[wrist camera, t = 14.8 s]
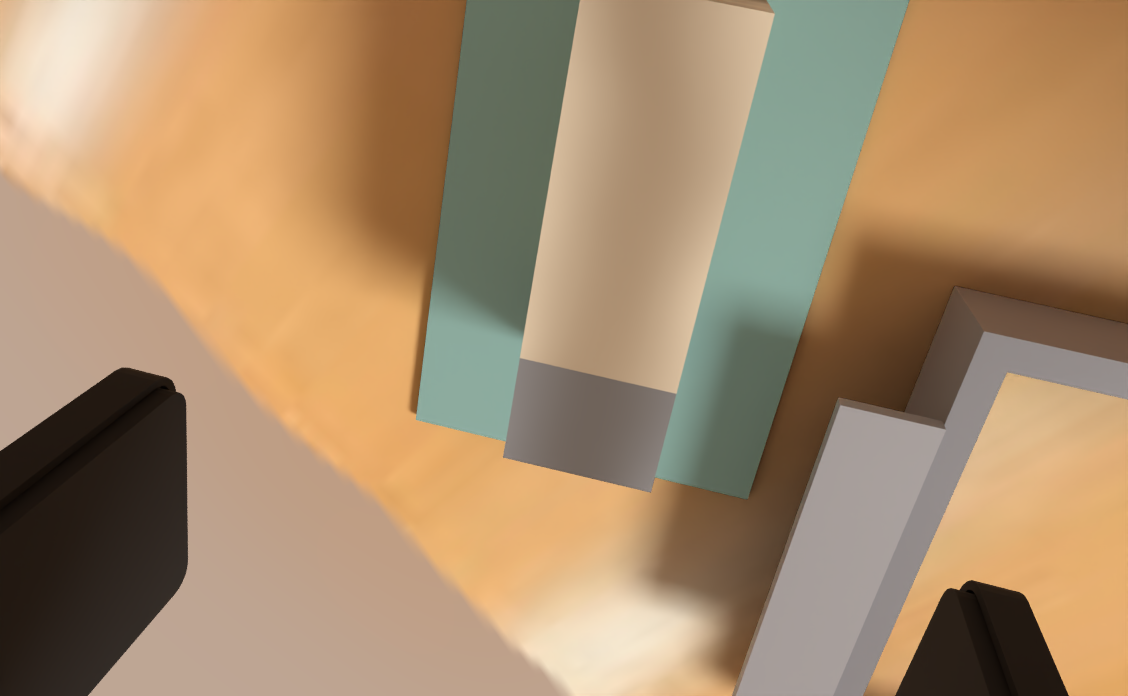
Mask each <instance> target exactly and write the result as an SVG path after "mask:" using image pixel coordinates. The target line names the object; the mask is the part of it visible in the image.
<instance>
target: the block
mask: <svg viewBox="0 0 1128 696" xmlns="http://www.w3.org/2000/svg"><path fill="white" fill-rule="evenodd" d="M774 15H775V13H774V11H773V10H772V8H771V7H770V5H769V3H768V2H767V0H580V3H579V9H578V15H577V21H576V27H575V33H574V38H573V44H572V50H571V56H570V62H569V68H568V74H567V80H566V86H565V92H564V98H563V104H562V110H561V116H560V122H559V128H558V134H557V140H556V146H555V152H554V158H553V164H552V169H551V175H550V181H549V187H548V193H547V199H546V205H545V211H544V217H543V223H542V229H541V235H540V241H539V247H538V253H537V259H536V265H535V271H534V277H533V283H532V289H531V294H530V300H529V306H528V312H527V318H526V324H525V330H524V336H523V342H522V348H521V354H520V360H519V366H518V372H517V378H516V384H515V390H514V396H513V402H512V408H511V414H510V419H509V425H508V431H507V437H506V443H505V449H504V455H503V458H508V459H512V460H516V461H520V462H524V463H529V464H533V465H537V466H541V467H546V468H550V469H554V470H558V471H562V472H567V473H571V474H575V475H579V476H583V477H588V478H592V479H596V480H600V481H604V482H609V483H613V484H617V485H621V486H626V487H630V488H634V489H638V490H642V491H647V492H651V490H652V486H653V483H654V479H655V475H656V471H657V467H658V463H659V459H660V456H661V452H662V448H663V444H664V440H665V436H666V432H667V429H668V425H669V421H670V417H671V413H672V409H673V405H674V401H675V398H676V394H677V390H678V386H679V382H680V378H681V374H682V371H683V367H684V363H685V359H686V355H687V351H688V347H689V344H690V340H691V336H692V332H693V328H694V324H695V320H696V317H697V313H698V309H699V305H700V301H701V297H702V293H703V289H704V286H705V282H706V278H707V274H708V270H709V266H710V262H711V259H712V255H713V251H714V247H715V243H716V239H717V235H718V232H719V228H720V224H721V220H722V216H723V212H724V208H725V205H726V201H727V197H728V193H729V189H730V185H731V181H732V177H733V174H734V170H735V166H736V162H737V158H738V154H739V150H740V147H741V143H742V139H743V135H744V131H745V127H746V123H747V120H748V116H749V112H750V108H751V104H752V100H753V96H754V93H755V89H756V85H757V81H758V77H759V73H760V69H761V65H762V62H763V58H764V54H765V50H766V46H767V42H768V38H769V35H770V31H771V27H772V23H773V19H774Z"/></svg>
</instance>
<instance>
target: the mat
mask: <svg viewBox="0 0 1128 696" xmlns="http://www.w3.org/2000/svg"><path fill="white" fill-rule="evenodd" d="M767 2H768V3H769V5H770V7H771V8H772V10H773V11H774V13H775V15H774V19H773V23H772V27H771V31H770V35H769V38H768V42H767V46H766V50H765V54H764V58H763V62H762V65H761V69H760V73H759V77H758V81H757V85H756V89H755V93H754V96H753V100H752V104H751V108H750V112H749V116H748V120H747V123H746V127H745V131H744V135H743V139H742V143H741V147H740V150H739V154H738V158H737V162H736V166H735V170H734V174H733V177H732V181H731V185H730V189H729V193H728V197H727V201H726V205H725V208H724V212H723V216H722V220H721V224H720V228H719V232H718V235H717V239H716V243H715V247H714V251H713V255H712V259H711V262H710V266H709V270H708V274H707V278H706V282H705V286H704V289H703V293H702V297H701V301H700V305H699V309H698V313H697V317H696V320H695V324H694V328H693V332H692V336H691V340H690V344H689V347H688V351H687V355H686V359H685V363H684V367H683V371H682V374H681V378H680V382H679V386H678V390H677V394H676V398H675V401H674V405H673V409H672V413H671V417H670V421H669V425H668V429H667V432H666V436H665V440H664V444H663V448H662V452H661V456H660V459H659V463H658V467H657V471H656V475H655V478H660V479H664V480H668V481H672V482H676V483H680V484H684V485H689V486H693V487H697V488H701V489H705V490H709V491H713V492H718V493H722V494H726V495H730V496H734V497H738V498H743V499H748V496H749V493H750V490H751V487H752V484H753V481H754V478H755V475H756V472H757V469H758V466H759V462H760V459H761V456H762V453H763V450H764V447H765V444H766V441H767V438H768V435H769V432H770V429H771V425H772V422H773V419H774V416H775V413H776V410H777V407H778V404H779V401H780V398H781V395H782V392H783V388H784V385H785V382H786V379H787V376H788V373H789V370H790V367H791V364H792V361H793V358H794V355H795V351H796V348H797V345H798V342H799V339H800V336H801V333H802V330H803V327H804V324H805V321H806V318H807V314H808V311H809V308H810V305H811V302H812V299H813V296H814V293H815V290H816V287H817V284H818V281H819V277H820V274H821V271H822V268H823V265H824V262H825V259H826V256H827V253H828V250H829V247H830V244H831V240H832V237H833V234H834V231H835V228H836V225H837V222H838V219H839V216H840V213H841V210H842V207H843V204H844V200H845V197H846V194H847V191H848V188H849V185H850V182H851V179H852V176H853V173H854V170H855V167H856V163H857V160H858V157H859V154H860V151H861V148H862V145H863V142H864V139H865V136H866V133H867V130H868V126H869V123H870V120H871V117H872V114H873V111H874V108H875V105H876V102H877V99H878V96H879V93H880V89H881V86H882V83H883V80H884V77H885V74H886V71H887V68H888V65H889V62H890V59H891V56H892V52H893V49H894V46H895V43H896V40H897V37H898V34H899V31H900V28H901V25H902V22H903V19H904V15H905V12H906V9H907V6H908V3H909V0H767ZM579 3H580V0H467V3H466V11H465V19H464V27H463V36H462V44H461V52H460V60H459V69H458V77H457V85H456V93H455V102H454V110H453V118H452V126H451V135H450V143H449V151H448V159H447V168H446V176H445V184H444V192H443V201H442V209H441V217H440V225H439V234H438V242H437V250H436V258H435V267H434V275H433V283H432V291H431V300H430V308H429V316H428V324H427V333H426V341H425V349H424V357H423V366H422V374H421V382H420V390H419V399H418V407H417V415H416V420H419V421H423V422H427V423H431V424H436V425H440V426H444V427H448V428H452V429H456V430H460V431H465V432H469V433H473V434H477V435H481V436H485V437H489V438H494V439H498V440H502V441H506V437H507V431H508V425H509V419H510V414H511V408H512V402H513V396H514V390H515V384H516V378H517V372H518V366H519V360H520V354H521V348H522V342H523V336H524V330H525V324H526V318H527V312H528V306H529V300H530V294H531V289H532V283H533V277H534V271H535V265H536V259H537V253H538V247H539V241H540V235H541V229H542V223H543V217H544V211H545V205H546V199H547V193H548V187H549V181H550V175H551V169H552V164H553V158H554V152H555V146H556V140H557V134H558V128H559V122H560V116H561V110H562V104H563V98H564V92H565V86H566V80H567V74H568V68H569V62H570V56H571V50H572V44H573V38H574V33H575V27H576V21H577V15H578V9H579Z"/></svg>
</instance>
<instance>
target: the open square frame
mask: <svg viewBox="0 0 1128 696" xmlns="http://www.w3.org/2000/svg"><path fill="white" fill-rule="evenodd" d="M1007 372H1009V373H1013V374H1018V375H1022V376H1027V377H1031V378H1035V379H1040V380H1044V381H1049V382H1053V383H1057V384H1062V385H1066V386H1071V387H1075V388H1080V389H1084V390H1088V391H1093V392H1097V393H1102V394H1106V395H1110V396H1115V397H1119V398H1124V399H1128V324H1125V323H1121V322H1116V321H1112V320H1107V319H1103V318H1098V317H1094V316H1089V315H1084V314H1080V313H1075V312H1071V311H1066V310H1062V309H1057V308H1053V307H1048V306H1044V305H1039V304H1035V303H1030V302H1026V301H1021V300H1017V299H1012V298H1007V297H1003V296H998V295H994V294H989V293H985V292H980V291H976V290H971V289H967V288H962V287H958V286H954V288H953V291H952V293H951V296H950V299H949V301H948V304H947V306H946V309H945V311H944V314H943V316H942V319H941V321H940V324H939V326H938V329H937V331H936V334H935V336H934V339H933V341H932V344H931V346H930V349H929V351H928V354H927V356H926V359H925V361H924V364H923V366H922V369H921V372H920V374H919V377H918V379H917V382H916V384H915V387H914V389H913V392H912V394H911V397H910V399H909V402H908V404H907V407H906V409H905V412H901V411H896V410H892V409H888V408H883V407H879V406H875V405H870V404H866V403H862V402H857V401H853V400H849V399H844V398H840V397H838V400H837V402H836V405H835V408H834V411H833V414H832V416H831V419H830V422H829V425H828V428H827V430H826V433H825V436H824V439H823V442H822V444H821V447H820V450H819V453H818V456H817V459H816V461H815V464H814V467H813V470H812V473H811V475H810V478H809V481H808V484H807V487H806V489H805V492H804V495H803V498H802V501H801V503H800V506H799V509H798V512H797V515H796V517H795V520H794V523H793V526H792V529H791V531H790V534H789V537H788V540H787V543H786V545H785V548H784V551H783V554H782V557H781V559H780V562H779V565H778V568H777V571H776V573H775V576H774V579H773V582H772V585H771V587H770V590H769V593H768V596H767V599H766V601H765V604H764V607H763V610H762V613H761V615H760V618H759V621H758V624H757V627H756V629H755V632H754V635H753V638H752V641H751V643H750V646H749V649H748V652H747V655H746V657H745V660H744V663H743V666H742V669H741V672H740V674H739V677H738V680H737V683H736V686H735V688H734V691H733V694H732V696H863V694H864V692H865V690H866V688H867V685H868V683H869V681H870V679H871V676H872V674H873V672H874V670H875V668H876V665H877V663H878V661H879V659H880V656H881V654H882V652H883V650H884V647H885V645H886V643H887V641H888V638H889V636H890V634H891V632H892V629H893V627H894V625H895V623H896V620H897V618H898V616H899V614H900V611H901V609H902V607H903V605H904V602H905V600H906V598H907V596H908V593H909V591H910V589H911V587H912V584H913V582H914V580H915V578H916V575H917V573H918V571H919V569H920V566H921V564H922V562H923V560H924V557H925V555H926V553H927V551H928V548H929V546H930V544H931V542H932V539H933V537H934V535H935V533H936V531H937V528H938V526H939V524H940V522H941V519H942V517H943V515H944V513H945V510H946V508H947V506H948V504H949V501H950V499H951V497H952V495H953V492H954V490H955V488H956V486H957V483H958V481H959V479H960V477H961V474H962V472H963V470H964V468H965V465H966V463H967V461H968V459H969V456H970V454H971V452H972V450H973V447H974V445H975V443H976V441H977V438H978V436H979V434H980V432H981V429H982V427H983V425H984V423H985V420H986V418H987V416H988V414H989V411H990V409H991V407H992V405H993V402H994V400H995V398H996V396H997V394H998V391H999V389H1000V387H1001V385H1002V382H1003V380H1004V378H1005V376H1006V373H1007Z"/></svg>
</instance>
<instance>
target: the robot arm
mask: <svg viewBox="0 0 1128 696" xmlns="http://www.w3.org/2000/svg"><path fill="white" fill-rule="evenodd" d="M186 437H187V436H186V400H185V398H184V396H183V395H182V394H181V393H178V392H176V389H175V386H174V383H173V381H172V380H170V379H169V378H167V377H163V376H159V375H155V374H151V373H146V372H143V371H139V370H135V369H131V368H120V369H118V370H116V371H114V372H113V373H111V374H110V375H109V376H107V377H106V378H104V379H103V380H101V381H100V382H99V383H97V384H96V385H94V386H93V387H91V388H90V389H89V390H87V391H86V392H84V393H83V394H81V395H80V396H78V397H77V398H76V399H74V400H73V401H71V402H70V403H69V404H67V405H66V406H64V407H63V408H61V409H60V410H58V411H57V412H56V413H54V414H53V415H51V416H50V417H48V418H47V419H46V420H44V421H43V422H41V423H40V424H38V425H37V426H36V427H34V428H33V429H31V430H30V431H28V432H27V433H26V434H24V435H23V436H22V437H20V438H18V439H17V440H16V441H14V442H13V443H11V444H10V445H8V446H7V447H6V448H4V449H3V450H1V451H0V696H88V695H89V694H90V692H91V691H92V690H93V689H94V688H95V687H96V685H97V684H98V683H99V682H100V681H101V679H102V678H103V677H104V676H105V675H106V674H107V673H108V671H109V670H110V669H111V668H112V667H113V665H114V664H115V663H116V662H117V661H118V660H119V659H120V657H121V656H122V655H123V654H124V653H125V652H126V650H127V649H128V648H129V647H130V646H131V644H132V643H133V642H134V641H135V640H136V639H137V637H138V636H139V635H140V634H141V633H142V632H143V631H144V629H145V628H146V627H147V626H148V625H149V623H150V622H151V621H152V620H153V619H154V618H155V616H156V615H157V614H158V613H159V612H160V610H162V608H163V607H164V606H165V605H166V604H167V602H168V601H169V600H170V599H171V598H172V597H173V596H174V594H175V593H176V592H177V590H178V589H179V587H180V585H181V584H182V582H183V579H184V577H185V574H186V570H187V565H188V533H187V532H188V529H187V443H186V442H187V439H186ZM895 696H1069V695H1068V693H1067V691H1066V688H1065V686H1064V684H1063V681H1062V679H1061V677H1060V674H1059V672H1058V670H1057V667H1056V665H1055V663H1054V660H1053V658H1052V656H1051V653H1050V651H1049V649H1048V646H1047V644H1046V642H1045V640H1044V637H1043V635H1042V633H1041V630H1040V628H1039V626H1038V623H1037V621H1036V619H1035V616H1034V614H1033V612H1032V609H1031V607H1030V605H1029V602H1028V600H1027V599H1026V597H1025V596H1024V595H1023V594H1021V593H1020V592H1016V591H1012V590H1008V589H1004V588H1001V587H997V586H993V585H989V584H985V583H981V582H977V581H973V580H971V581H967V582H966V583H965V584H964V585H963V586H962V587H961V589H960V590H957V589H953V588H950V589H947V590H946V591H945V592H944V594H943V596H942V597H941V599H940V601H939V604H938V606H937V608H936V610H935V612H934V614H933V616H932V618H931V621H930V623H929V625H928V627H927V629H926V631H925V633H924V636H923V638H922V640H921V642H920V644H919V646H918V648H917V650H916V653H915V655H914V657H913V659H912V661H911V663H910V665H909V668H908V670H907V672H906V674H905V676H904V678H903V680H902V682H901V685H900V687H899V689H898V691H897V693H896V695H895Z"/></svg>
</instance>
